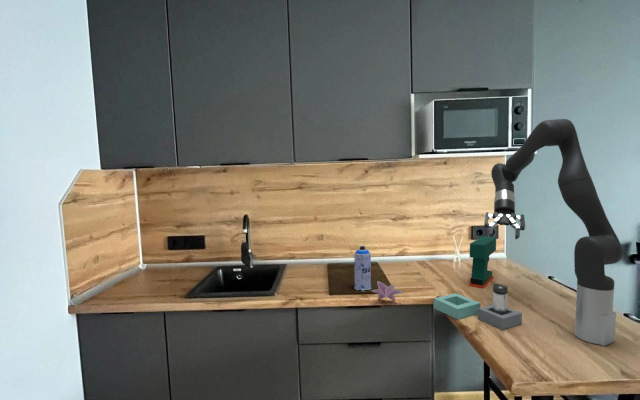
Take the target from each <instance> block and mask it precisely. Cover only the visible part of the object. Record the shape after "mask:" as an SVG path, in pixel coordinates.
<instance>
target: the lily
mask: <svg viewBox="0 0 640 400" xmlns="http://www.w3.org/2000/svg"><path fill="white" fill-rule="evenodd" d="M376 283H377V287H378V288H377V289H371V292H372V293H375V294H378V297H377V299H379V300H381V299H384V298H385V299H390V300H392V301H393V302H395V301H396V298H395V296H396V295H399V294H404V291H403V290H400V289H397V288H395V284H391V285H386V284H385V283H383V282H381V281H379V280H378V281H376Z"/></svg>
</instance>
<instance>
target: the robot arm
mask: <svg viewBox="0 0 640 400" xmlns="http://www.w3.org/2000/svg"><path fill="white" fill-rule="evenodd" d="M577 133H578V132H577V130H576V127H575V124H574V123H573V122H572V121H571V120H570V119H567V118H556V119H555V118H554V119H547V120H543V121H541V122H539V123H538V124H537V125H536V126H535V127H534V129H533V130H532V131H531V133H530V134H529V136H528V137H527V139H526V140H525V141H524V142H523V144H522V145H521V146H520V147H519V148H518V149H517V150H516V151H515V152H514V153H513V154H512V155H511V156H510V157H509V158H508V159H507V160H506V162H505V163H501V162H498V163H495V164H494V165H493V167H492V169H491V173H490V175H491V179H492V182H493V184H494V187H495V188H494V189H495V191H494V199H493V205H494V207H493V213H489V212H485V215H484V216H485V217H484V225H483V227H484V228H487V229H488V237H493V235H494V228H495V227H497V226H498V225H499V226H507V227H508V226H510V227H511V228H513V229H514V233H515V234H514V239H515V240H518V239H519V238H520V237H521V235H520V233H521V231H525V229H526V221H525V215H524V213H523V214H520V215H516V198H515V197H516V196H515V185H514V182H516V181H517V179H518V177H519V175H520V174H521V172H522V170H524V169H526V168H527V167H528V166H530V164H531V163H532V162H533V161H534V159H535V154H536V152H537V151H538V150H539V151H540V149H542V148H544V147H558V149H559V150H560V153H561V158H562V159H561V160H562V164H561V166H560V167H561V168H560V169H559V174H558V177H557V185H558V188H559V191H560V194H561V196H562V200H563V201H564V203H565V204H566V206H567V207H568V208H569V209H570V210H571V211H572V212H573V214H575V215H576V216H577V217H578V219H580V220H581V221H582V223H583V224H584V226H585V229H586V231H587V233H588V235H587V236H583V237H580V238H579V239H577V241H576V242H575V245H574V251H573V254H574V255H573V258H574V259H573V260H574V261H573V262H574V266H573V267H574V274H575V276H576V299H575V301H576V302H575V321H574V323H575V325H574V335H575V337H577V339H579V340H582V341H585V342H587V343H590V344H594V345H599V346H603V347H605V346H608V345H610V344H612V343H614V342H615V338H616V337H615V336H616V317H617V312H615V311H614V294H615V280H614V279H613V278H612V277H610V276H608V275H606V273H605V271H606V269H605V266H607V265H614V264H617V263H619V262H620V261H621V259H622V258H623V247H622V244H621V242H620V240H619V238H618V236H617V234H616V232H615V230H614V228H613V226H612V225H611V223H610V221H609V219H608V217H607V214H606V212H605V210H604V207H603V205H602V203H601V200H600V197H599V195H598V192H597V189H596V186H595V184H594V181H593V179H592V176H591V174H590V171H589V170H588V167H587V164H586V162H585V158H584V155H583V152H582V149H581V145H580V141H579V137H578V134H577ZM491 219H493V220H492V222H490V223H489V220H491ZM516 220H517V221H518V222H519V224H520V225H519V224H518V222H517V221H516Z"/></svg>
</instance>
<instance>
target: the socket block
mask: <svg viewBox="0 0 640 400" xmlns="http://www.w3.org/2000/svg"><path fill="white" fill-rule="evenodd" d="M477 320H479V321H482V322H483V323H486V324H488V325H491V326H493V327H495V328H498V329H500V330H502V331H504V330H507V329H510V328H513V327H516V326H519V325H522V324H523V313H522V312H520V311H519V310H515V309H513V308H510V307H508V306H507V314H504V315H500V314H497V313H495V312H493V303H492V304H488V305H485V306H481V308H478V314H477Z"/></svg>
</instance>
